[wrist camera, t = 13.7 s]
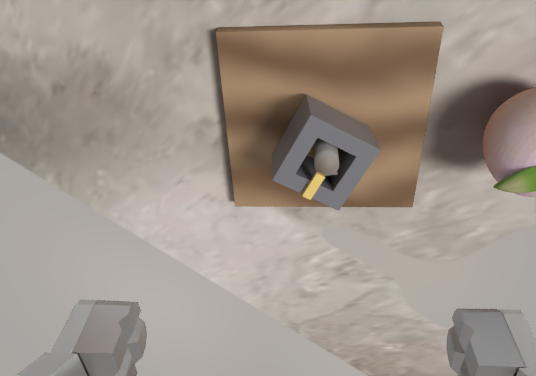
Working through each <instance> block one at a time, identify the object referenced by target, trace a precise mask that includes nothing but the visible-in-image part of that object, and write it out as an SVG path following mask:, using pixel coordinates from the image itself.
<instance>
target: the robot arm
mask: <svg viewBox="0 0 536 376" xmlns="http://www.w3.org/2000/svg"><path fill="white" fill-rule="evenodd" d="M140 311H141V310H140V307H139V304H138V302H124V301H105V300H80V301H79V302H78V303H77V304H76V305H75V306H74V308H73V310H72V312H71V314H70V316H69V318H68V320H67V322H66V324H65V326H64V328H63V330H62V332H61V334H60V336H59V338H58V340H57V342H56V344H55V345H54V348H53V349H52V351H51V353H44V354H43V355H42V356H40V357H39V358H38V359H37V360H35V361H34V362H33V363H31V364H30V365H29V366H27V367H26V368H25V369H24V370H23V371H21V372H20V373H18V374H17V375H16V376H136V375H137V370H136V367H135V363H136V362H137V361H138V360H139V359H141V358H142V356H143V353H144V349H145V345H146V337H147V333H146V326H145V323H144V321H143V320H142V319H140V318H139V314H140ZM452 319H453V323H454V326H453V327H452V328H451V329H449V331H448V335H447V354H448V359H449V363H450V367H451V368H452V369H453V370H454V371H455V372H456V373H457V374H458V376H536V338H535V336H534V334H533V332H532V329H531V327H530V325H529V323H528V321H527V319H526V317H525V315H524V313H523V312H522V311H521V310H497V309H456V310H455V311H454V314H453V317H452Z"/></svg>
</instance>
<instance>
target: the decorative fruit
mask: <svg viewBox="0 0 536 376" xmlns="http://www.w3.org/2000/svg"><path fill="white" fill-rule="evenodd" d="M483 155H484V158H485V161H486V164H487V166H488V169H489V171H490V172H491V174H492V175H493V177H494V178H495V179H496V180H497V182H498V183H497V184H496V185H494V188H497V189H499V190H502V191H505V192H511V193H515V194H518V195H522V196H530V197H536V88H531V89H527V90H525V91H522V92H520V93H518V94H516V95H514V96H513V97H511V98H509V99H508V100H506V101H505V102H504V103H503V104H501V105H500V106H499V107H498V108H497V109H496V110H495V112H494V113H493V114H492V116H491V117H490V119H489V121H488V123H487V125H486V127H485V130H484V134H483Z"/></svg>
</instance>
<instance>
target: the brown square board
mask: <svg viewBox="0 0 536 376" xmlns="http://www.w3.org/2000/svg"><path fill="white" fill-rule="evenodd" d="M442 32H443V25H442V24H441V22H410V23H371V24H333V25H295V26H257V27H219V28H217V30H216V40H217V49H218V58H219V67H220V76H221V84H222V93H223V102H224V111H225V120H226V129H227V138H228V147H229V156H230V165H231V174H232V183H233V192H234V201H235V206H281V207H330V206H327V205H325V204H323V203H321V202H319V201H316V200H314V199H311V200H309V199H307V198H305V197H303V196H302V194H301V193H299V192H297V191H295V190H292V189H290V188H288V187H286V186H284V185H281V184H279V183H277V182H275V181H273V180H272V153H273V151H274V149H275V148H276V146H277V144H278V142H279V141H280V139H281V137H282V136H283V134H284V132H285V130H286V129H287V127H288V125H289V123H290V122H291V120H292V118H293V116H294V115H295V113H296V111H297V110H298V108H299V106H300V104H301V103H302V101H303V99H304V97H305V96H306V94H307V95H309V96H311V97H313V98H315V99H317V100H319V101H321V102H323V103H325V104H327V105H329V106H331V107H333V108H334V109H336V110H338V111H340V112H342V113H344V114H346V115H348V116H350V117H352V118H354V119H356V120H358V121H360V122H362V123H364V124H366V125H368V126H369V127H370V129H371V131H372V133H373V135H374V137H375V139H376V141H377V143H378V145H379V147H380V149H381V151H380V152H379V154H378V155H377V156H376V158H375V159H374V161H373V162H372V164H371V165H370V166H369V168H368V169H367V171H366V172H365V174H364V175H363V176H362V178H361V179H360V181H359V182H358V184H357V185H356V186H355V188H354V189H353V191H352V192H351V194H350V195H349V196H348V198H347V199H346V201H345V202H344V204H343V205H342V206H341V207H413V201H414V195H415V189H416V184H417V178H418V172H419V166H420V160H421V154H422V149H423V143H424V137H425V131H426V125H427V120H428V114H429V108H430V102H431V96H432V90H433V85H434V79H435V73H436V67H437V61H438V56H439V50H440V44H441V38H442ZM307 155H308V156H310V157H312V158H314V167H315V173H316V171H317V172H319V173H321V174H323V175H325V176H328V175H338V169H339V156H338V147H336V146H334V145H332V144H329V143H327V142H325V141H323V140H321V139H319V138H317V140H316V141H315V143H314V144H313V146H312V148H311V149H310V151H309V153H308V154H307Z"/></svg>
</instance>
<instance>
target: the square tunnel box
mask: <svg viewBox="0 0 536 376" xmlns="http://www.w3.org/2000/svg"><path fill="white" fill-rule="evenodd" d="M317 138H319V139H321V140H323V141H325V142H327V143H329V144H332V145H334V146H336V147H338V156H339V169H338V175H328V176H325V175H323V174H321V173H319V172H317V171H316V173H315V167H314V158H312V157H310V156H308V155H307V154H308V153H309V151H310V149H311V148H312V146H313V144H314V143H315V141H316V140H317ZM380 151H381V149H380V147H379V145H378V143H377V141H376V139H375V137H374V135H373V133H372V131H371V129H370V127H369V126H368V125H366V124H364V123H362V122H360V121H358V120H356V119H354V118H352V117H350V116H348V115H346V114H344V113H342V112H340V111H338V110H336V109H334V108H333V107H331V106H329V105H327V104H325V103H323V102H321V101H319V100H317V99H315V98H313V97H311V96H309V95H307V94H306V96H305V97H304V99H303V101H302V103H301V104H300V106H299V108H298V110H297V111H296V113H295V115H294V116H293V118H292V120H291V122H290V123H289V125H288V127H287V129H286V130H285V132H284V134H283V136H282V137H281V139H280V141H279V142H278V144H277V146H276V148H275V149H274V151H273V153H272V180H273V181H275V182H277V183H279V184H281V185H284V186H286V187H288V188H290V189H292V190H295V191H297V192H299V193H301V194H302V196H303V197H305V198H307V199H309V200H311V199H314V200H316V201H319V202H321V203H323V204H325V205H327V206H330V207H332V208H334V209H336V210H338V211H339V209H340V208H341V206H342V205H343V204H344V202H345V201H346V199H347V198H348V196H349V195H350V194H351V192H352V191H353V189H354V188H355V186H356V185H357V184H358V182H359V181H360V179H361V178H362V176H363V175H364V174H365V172H366V171H367V169H368V168H369V166H370V165H371V164H372V162H373V161H374V159H375V158H376V156H377V155H378V154H379V152H380Z"/></svg>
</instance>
